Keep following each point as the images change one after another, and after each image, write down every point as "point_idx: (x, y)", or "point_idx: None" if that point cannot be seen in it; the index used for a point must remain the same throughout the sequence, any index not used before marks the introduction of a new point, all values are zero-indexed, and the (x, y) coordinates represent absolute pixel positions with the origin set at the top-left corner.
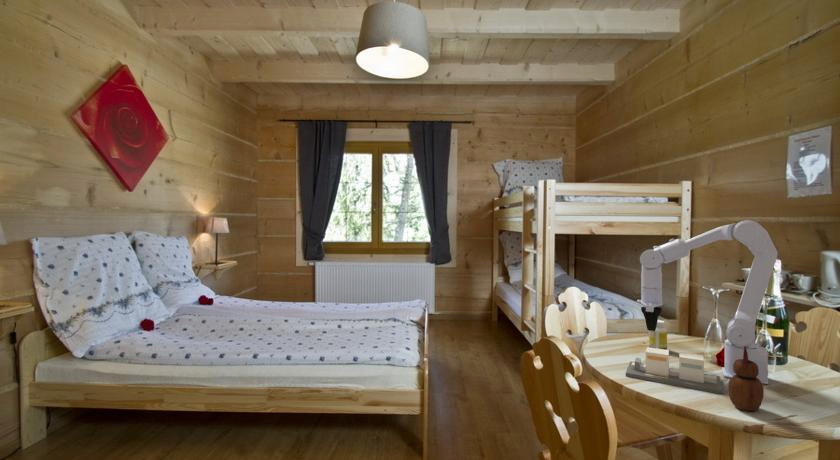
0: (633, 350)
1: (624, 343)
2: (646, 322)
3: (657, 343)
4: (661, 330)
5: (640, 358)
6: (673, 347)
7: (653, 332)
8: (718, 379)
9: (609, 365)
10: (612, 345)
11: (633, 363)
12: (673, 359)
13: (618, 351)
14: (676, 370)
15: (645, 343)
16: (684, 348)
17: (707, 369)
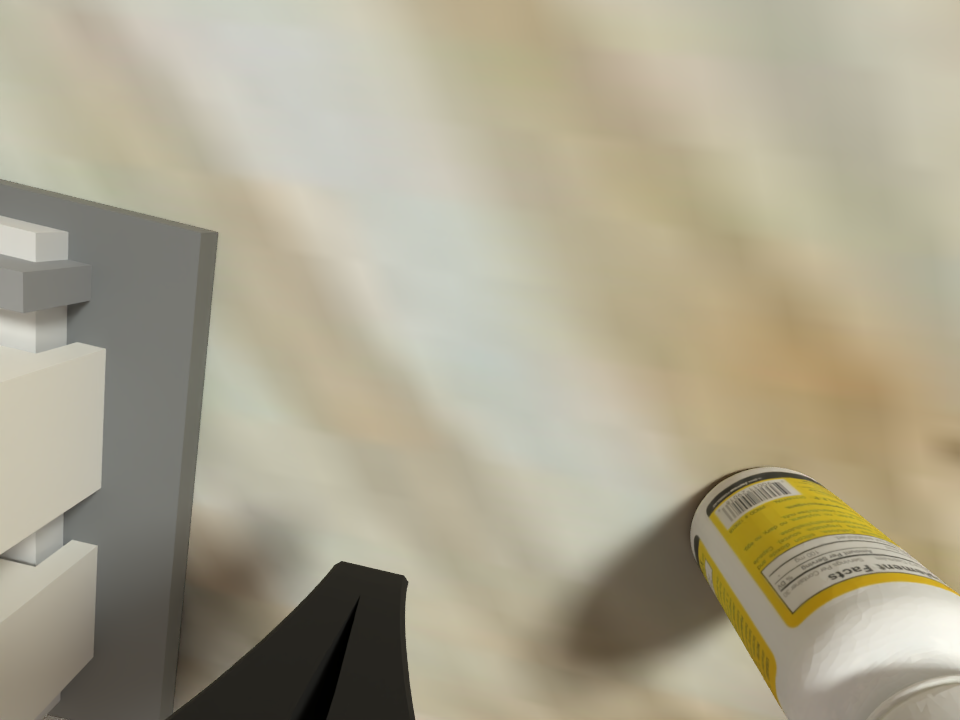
0: (675, 318)
1: (923, 262)
2: (248, 653)
3: (720, 556)
4: (797, 713)
5: (17, 310)
6: None
7: (806, 607)
8: (90, 716)
9: (105, 30)
10: (820, 121)
11: (3, 237)
12: (500, 576)
13: (600, 166)
14: None
15: (948, 462)
16: None
17: None
